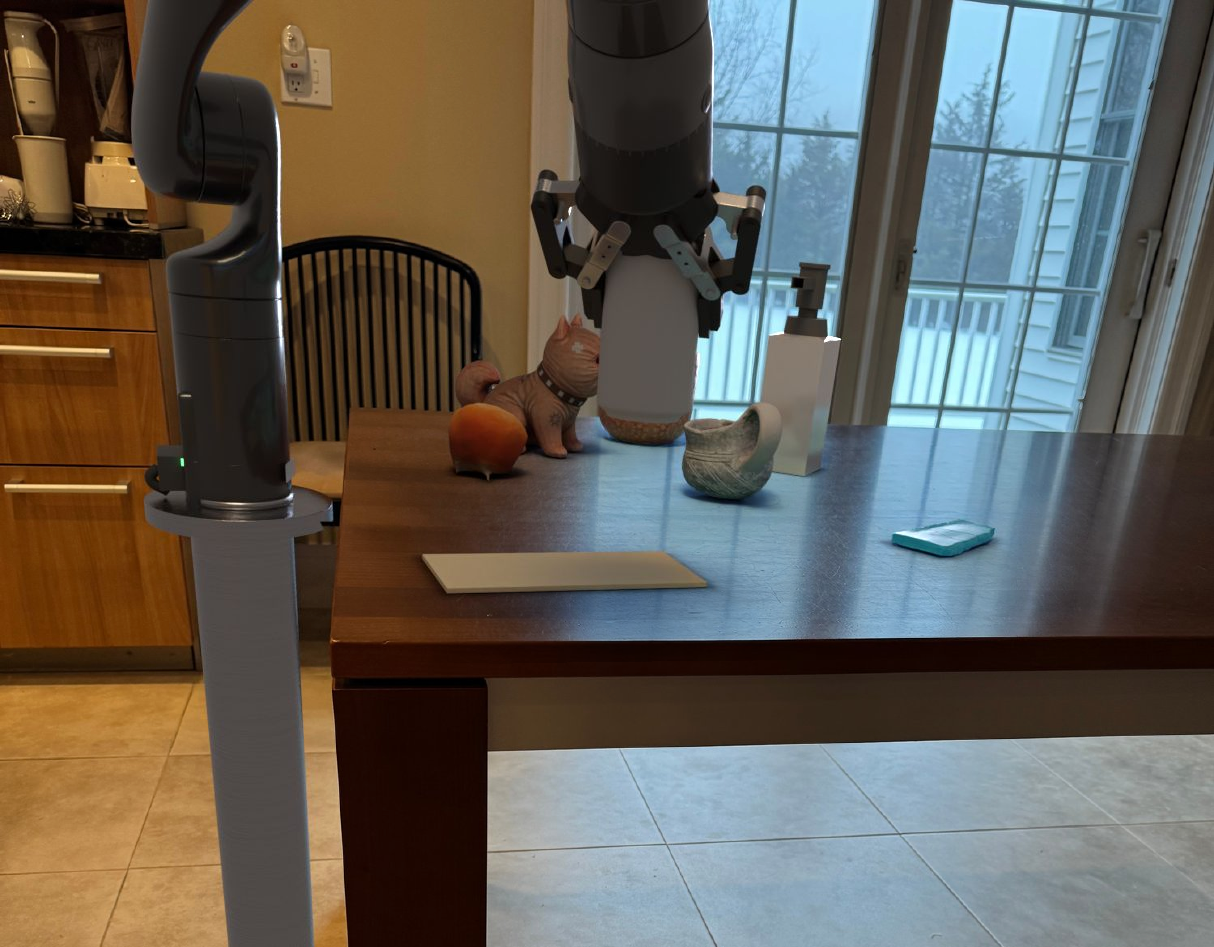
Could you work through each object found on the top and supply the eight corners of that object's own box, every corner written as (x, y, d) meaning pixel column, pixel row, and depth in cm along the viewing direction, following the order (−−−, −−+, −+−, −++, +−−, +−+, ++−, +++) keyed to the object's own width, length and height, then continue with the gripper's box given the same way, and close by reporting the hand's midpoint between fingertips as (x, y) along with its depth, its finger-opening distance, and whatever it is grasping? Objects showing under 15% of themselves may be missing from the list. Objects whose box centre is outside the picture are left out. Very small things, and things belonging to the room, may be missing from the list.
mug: (730, 484, 123) (742, 387, 118) (809, 511, 114) (826, 406, 109) (659, 489, 117) (668, 387, 113) (736, 517, 108) (750, 407, 104)
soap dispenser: (744, 470, 131) (771, 260, 121) (769, 460, 138) (796, 261, 128) (798, 479, 129) (830, 265, 119) (820, 468, 136) (852, 266, 126)
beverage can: (617, 424, 73) (633, 214, 67) (581, 409, 78) (594, 213, 73) (705, 426, 75) (727, 223, 70) (665, 411, 80) (683, 222, 75)
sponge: (1015, 534, 107) (963, 513, 110) (945, 548, 99) (891, 526, 102) (1010, 549, 107) (958, 528, 111) (939, 565, 100) (886, 542, 103)
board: (446, 593, 79) (447, 588, 79) (422, 559, 87) (422, 553, 87) (706, 587, 86) (707, 582, 86) (662, 555, 93) (663, 550, 93)
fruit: (425, 462, 113) (443, 386, 114) (453, 491, 121) (471, 420, 121) (499, 472, 111) (518, 395, 112) (523, 502, 119) (541, 430, 119)
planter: (693, 437, 150) (702, 348, 145) (687, 452, 139) (697, 357, 134) (601, 428, 151) (607, 339, 146) (587, 442, 140) (593, 347, 135)
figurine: (596, 466, 126) (606, 321, 119) (438, 444, 130) (439, 303, 124) (622, 453, 134) (633, 317, 128) (473, 433, 139) (476, 300, 132)
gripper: (787, 49, 60) (769, 288, 76) (524, 33, 62) (559, 270, 78) (767, 156, 58) (752, 380, 73) (495, 135, 60) (537, 358, 75)
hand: (653, 322), depth 75 cm, fingers closed on beverage can, 6 cm apart
